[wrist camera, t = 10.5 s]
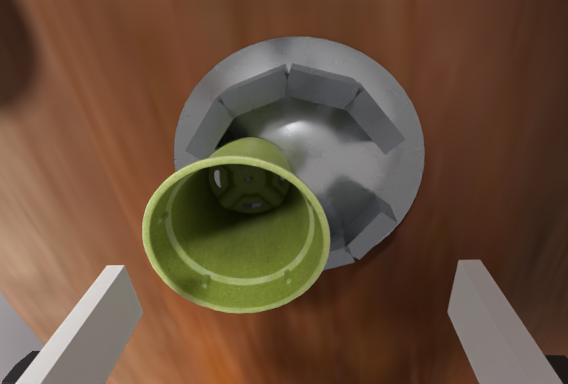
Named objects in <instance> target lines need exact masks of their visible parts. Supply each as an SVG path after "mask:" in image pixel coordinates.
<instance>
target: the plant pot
mask: <svg viewBox="0 0 568 384" xmlns="http://www.w3.org/2000/svg"><path fill="white" fill-rule="evenodd" d="M216 170H218V171H219V179H220V185H221V187H219V186H218V185H217V184H216V182H215V178H214V173H215V171H216ZM247 176H251V177H252V178H253V180H252V181H251V182H247V181H246V179H245V178H246V177H247ZM280 176H282V177H283V178H284V182H283V184H280V183H279V180H280ZM245 203H247V204H256V203H261V204H262V205H261V206H260V207H253V208H246V207H244V206H243V205H244V204H245ZM142 236H143V244H144V248H145V251H146V253H147V256H148V258H149V261H150V263H151V265H152V266H153V268H154V270H155V271H156V272H157V274H159V276H160V277H161V278H162V279H163V280H164V282H165V283H166V284H167V285H168V286H169V287H170V288H171V289H173V290H174V291H175V292H177V293H178V294H179V295H181V296H183V297H184V298H186V299H187V300H189V301H191V302H193V303H196V304H198V305H201V306H204V307H208V308H211V309H214V310H218V311H222V312H228V313H254V312H262V311H265V310H268V309H273V308H277V307H280V306H282V305H284V304H287V303H288V302H290V301H292V300H293V299H295V298H297V297H298V296H300V295H302V294H303V293H304V292H305V291H306V290H308V289H309V288H310V287H311V285H312V284H313V283H314V282H315V281H316V280H317V279H318V277H319V276H320V274H321V273H322V271H323V269H324V267H325V265H326V262H327V259H328V255H329V251H330V230H329V225H328V221H327V218H326V215H325V212H324V210H323V208H322V206H321V204H320V202H319V200H318V198H317V197H316V196H315V194H314V193H313V192H312V190H311V189H310V188H309V187H308V186H307V185H306V184H305V183H304V182H303V181H302V180H301V179H300V178H299V177H297V176H296V175H295V174H294V173H293V171H292V168H291V166H290V164H289V162H288V160H287V158H286V157H285V155H284V154H283V153H282V152H281V151H280V150H279V149H278V148H277V147H275V146H274V145H273V144H271V143H270V142H268V141H266V140H263V139H260V138H255V137H241V138H236V139H233V140H230V141H228V142H226V143H225V144H223V145H222V146H221V147H219V148H218V149H217V150H216V151H215V152H214V153H213V154H212V155H211V156H210V157H209V158H206V159H202V160H199V161H196V162H194V163H191V164H189V165H187V166H185V167H183V168H181V169H180V170H178V171H177V172H175V173H174V174H172V175H171V176H170V177H169V178H167V179H166V180H165V181H164V182H163V183H162V184H161V185H160V187H159V188H158V189H157V190H156V192H155V193H154V194H153V196H152V197H151V199H150V201H149V203H148V205H147V207H146V210H145V213H144V218H143V224H142Z"/></svg>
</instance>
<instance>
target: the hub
mask: <svg viewBox="0 0 568 384" xmlns="http://www.w3.org/2000/svg"><path fill="white" fill-rule="evenodd" d="M241 137H255V138H260V139H263V140H266V141H268V142H270V143H271V144H273V145H274V146H275V147H277V148H278V149H279V150H280V151H281V152H282V153H283V154H284V155H285V157H286V158H287V160H288V162H289V164H290V166H291V168H292V171H293V173H294V174H295V175H296V176H297V177H299V178H300V179H301V180H302V181H303V182H304V183H305V184H306V185H307V186H308V187H309V188H310V189H311V190H312V192H313V193H314V194H315V196H316V197H317V198H318V200H319V202H320V204H321V206H322V208H323V210H324V212H325V215H326V218H327V221H328V225H329V230H330V251H329V255H328V259H327V262H326V265H325V267H324V269H323V270H327V269H331V268H335V267H339V266H343V265H347V264H351V263H355V261H354V257H356V258H357V259H359V260H360V259H361V258H362V257H363V256H364V255H365V254H366V253H367V252H368V251H369V250H370V249H371V248H372V247H374V246H375V245H377V244H378V243H379V242H381V241H382V240H383V239H384V238H385V237H387V236H388V235H389V234H390V233H391V232H392V231H393V230H394V229H395V228H396V226H397V225H398V224H399V223H400V222H401V221H402V219H403V218H404V216H405V215H406V213H407V212H408V211H409V209H410V207H411V205H412V203H413V201H414V199H415V197H416V195H417V192H418V189H419V186H420V183H421V179H422V174H423V169H424V155H425V150H424V139H423V133H422V129H421V125H420V121H419V118H418V116H417V113H416V111H415V109H414V106H413V104H412V102H411V101H410V99H409V97H408V96H407V94H406V92H405V91H404V89H403V88H402V87H401V86H400V84H399V83H398V82H397V81H396V80H395V78H394V77H393V76H392V75H391V74H390V73H389V72H388V71H386V70H385V69H384V68H383V67H382V66H381V65H380V64H378V63H377V62H376V61H374V60H373V59H371V58H370V57H368V56H366V55H365V54H363V53H362V52H360V51H358V50H356V49H354V48H352V47H349V46H347V45H345V44H342V43H339V42H335V41H332V40H328V39H325V38H317V37H310V36H286V37H280V38H274V39H268V40H265V41H262V42H259V43H255V44H252V45H250V46H248V47H246V48H244V49H242V50H240V51H237V52H235V53H233V54H232V55H230V56H229V57H227V58H226V59H224V60H223V61H221V62H220V63H218V64H217V65H216V66H215V67H214V68H213V69H212V70H211V71H209V72H208V73H207V74H206V75H205V76H204V77H203V79H202V80H201V81H200V82H199V83H198V85H197V86H196V87H195V88H194V90H193V91H192V93H191V95H190V96H189V98H188V100H187V101H186V103H185V106H184V108H183V110H182V113H181V115H180V118H179V121H178V125H177V129H176V133H175V143H174V162H175V169H176V172H177V171H178V170H180V169H181V168H183V167H185V166H187V165H189V164H191V163H194V162H196V161H199V160H202V159H206V158H209V157H210V156H211V155H212V154H213V153H214V152H215V151H216V150H217V149H218V148H219V147H221V146H222V145H223V144H225V143H226V142H228V141H230V140H233V139H236V138H241ZM214 178H215V182H216V184H217V185H218V186H219V187H221V185H220V179H219V171H218V170H216V171H215V173H214ZM245 179H246V181H247V182H251V181H252V180H253V178H252V177H251V176H247V177H246V178H245ZM283 182H284V178H283V177H282V176H280V180H279V183H280V184H283ZM261 205H262V204H261V203H256V204H247V203H245V204H244V205H243V206H244V207H246V208H253V207H260V206H261Z"/></svg>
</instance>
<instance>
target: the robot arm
mask: <svg viewBox="0 0 568 384" xmlns="http://www.w3.org/2000/svg"><path fill="white" fill-rule="evenodd" d="M447 312H448V315H449V317H450V319H451V321H452V324H453V326H454V328H455V330H456V333H457V335H458V337H459V339H460V342H461V344H462V346H463V348H464V351H465V353H466V355H467V357H468V359H469V362H470V364H471V366H472V368H473V371H474V373H475V375H476V377H477V380H478V382H479V384H568V358H567V357H565V356H562V355H544V354H543V353H542V351H541V350H540V348H539V347H538V345H537V344H536V342H535V341H534V339H533V338H532V336H531V335H530V333H529V332H528V330H527V329H526V327H525V326H524V324H523V323H522V321H521V320H520V318H519V317H518V315H517V314H516V312H515V311H514V309H513V308H512V306H511V305H510V303H509V302H508V300H507V299H506V297H505V296H504V294H503V293H502V291H501V290H500V288H499V287H498V285H497V284H496V282H495V281H494V279H493V278H492V276H491V275H490V273H489V272H488V270H487V269H486V267H485V266H484V264H483V263H482V261H481V260H459V261H458V265H457V270H456V274H455V279H454V283H453V288H452V293H451V297H450V302H449V306H448V311H447ZM142 314H143V310H142V307H141V305H140V302H139V300H138V297H137V295H136V292H135V290H134V287H133V285H132V282H131V280H130V277H129V275H128V272H127V270H126V267H125V265H112V266H106V268H105V269H104V270H103V272H102V273H101V274H100V275H99V277H98V278H97V279H96V281H95V282H94V283H93V284H92V286H91V287H90V288H89V290H88V291H87V292H86V293H85V295H84V296H83V297H82V299H81V300H80V301H79V302H78V304H77V305H76V306H75V308H74V309H73V310H72V311H71V313H70V314H69V315H68V317H67V318H66V319H65V320H64V322H63V323H62V324H61V326H60V327H59V328H58V329H57V331H56V332H55V333H54V335H53V336H52V337H51V338H50V340H49V341H48V342H47V344H46V345H45V346H44V347H43V349H42V350H41V351H32V352H31V353H29V354H28V355H27V356H26V357H25V358H23V359H22V360H21V361H20V362H19V363H17V364H16V365H15V366H14V367H13V369H12V370H11V371H10V372H9V373H8V375H7V376H6V377H5V378H4V380H3V381H2V384H105V383H106V381H107V379H108V377H109V375H110V373H111V371H112V370H113V368H114V366H115V364H116V362H117V360H118V359H119V357H120V355H121V353H122V351H123V349H124V347H125V346H126V344H127V342H128V340H129V338H130V336H131V335H132V333H133V331H134V329H135V327H136V325H137V323H138V322H139V320H140V318H141V316H142Z"/></svg>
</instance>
